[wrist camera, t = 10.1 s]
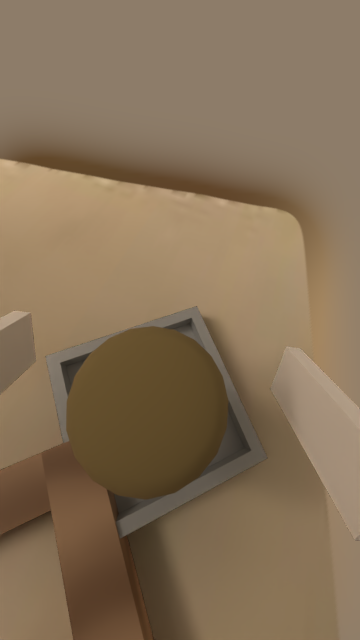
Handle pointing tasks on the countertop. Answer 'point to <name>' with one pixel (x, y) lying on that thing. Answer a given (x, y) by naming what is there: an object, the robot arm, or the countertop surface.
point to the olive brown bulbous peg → (147, 412)
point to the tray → (235, 448)
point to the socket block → (79, 542)
